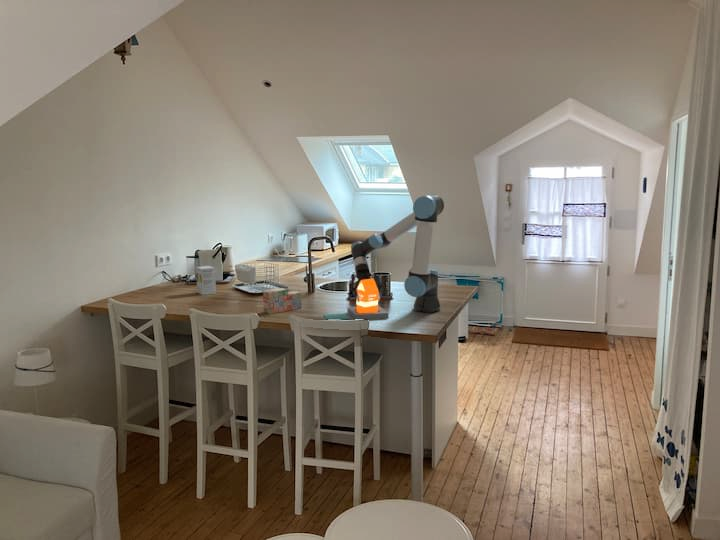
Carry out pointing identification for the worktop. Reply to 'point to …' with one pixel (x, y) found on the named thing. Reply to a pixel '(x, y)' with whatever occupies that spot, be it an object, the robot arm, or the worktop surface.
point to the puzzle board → (367, 314)
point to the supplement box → (206, 280)
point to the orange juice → (367, 296)
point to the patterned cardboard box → (281, 300)
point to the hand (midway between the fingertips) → (369, 300)
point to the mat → (336, 316)
